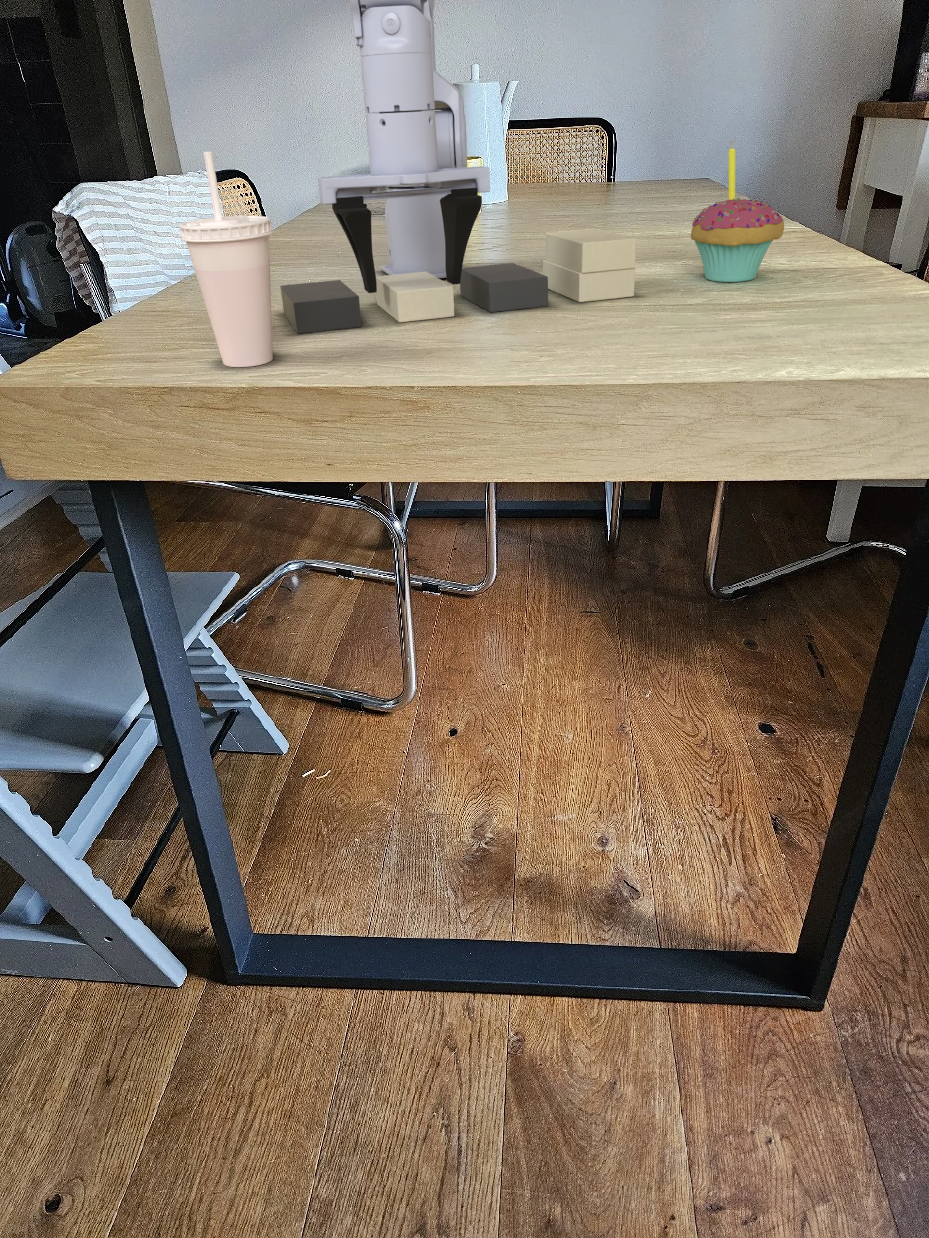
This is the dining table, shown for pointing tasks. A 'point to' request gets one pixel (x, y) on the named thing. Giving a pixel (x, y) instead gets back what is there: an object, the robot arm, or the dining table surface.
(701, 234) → the cupcake
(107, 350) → the dining table surface
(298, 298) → the grey book
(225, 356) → the smoothie
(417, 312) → the cream book
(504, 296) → the grey book
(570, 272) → the cream stack
